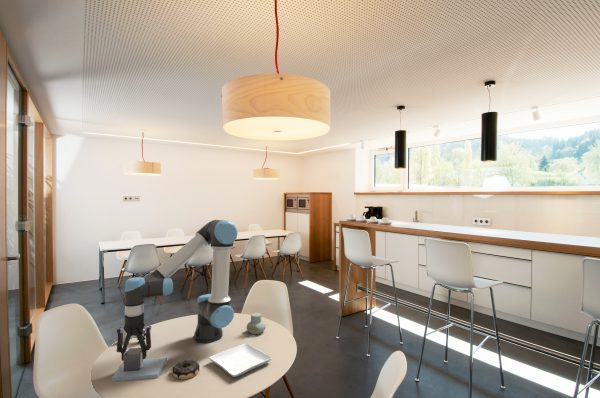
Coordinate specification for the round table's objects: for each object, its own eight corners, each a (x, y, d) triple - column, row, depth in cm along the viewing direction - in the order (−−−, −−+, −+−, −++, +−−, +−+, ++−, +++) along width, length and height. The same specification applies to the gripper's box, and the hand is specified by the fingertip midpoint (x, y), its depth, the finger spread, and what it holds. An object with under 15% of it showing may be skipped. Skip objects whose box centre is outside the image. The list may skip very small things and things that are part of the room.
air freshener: (267, 330, 178) (267, 313, 178) (262, 336, 170) (262, 318, 170) (250, 328, 181) (250, 311, 181) (244, 333, 173) (244, 316, 173)
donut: (190, 363, 140) (190, 355, 141) (205, 372, 133) (205, 363, 133) (166, 374, 132) (167, 364, 132) (181, 384, 124) (181, 374, 125)
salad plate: (273, 364, 141) (273, 356, 141) (233, 383, 125) (233, 374, 125) (246, 348, 155) (246, 342, 155) (207, 364, 140) (207, 356, 140)
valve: (117, 344, 159) (138, 345, 158) (117, 331, 160) (138, 333, 158) (125, 339, 166) (146, 340, 165) (125, 326, 166) (146, 327, 165)
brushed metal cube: (143, 363, 137) (143, 347, 138) (138, 370, 131) (138, 354, 132) (129, 364, 137) (129, 348, 137) (123, 371, 131) (123, 354, 131)
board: (167, 360, 143) (167, 346, 143) (157, 377, 129) (157, 362, 129) (126, 363, 140) (126, 349, 140) (111, 381, 126) (111, 365, 126)
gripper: (159, 309, 139) (159, 360, 139) (115, 311, 137) (114, 363, 136) (154, 315, 132) (154, 369, 132) (107, 318, 129) (106, 373, 129)
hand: (134, 366), depth 134 cm, fingers closed on brushed metal cube, 6 cm apart
